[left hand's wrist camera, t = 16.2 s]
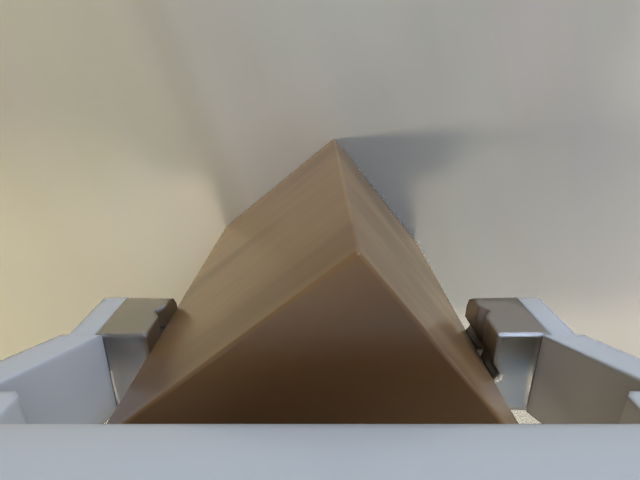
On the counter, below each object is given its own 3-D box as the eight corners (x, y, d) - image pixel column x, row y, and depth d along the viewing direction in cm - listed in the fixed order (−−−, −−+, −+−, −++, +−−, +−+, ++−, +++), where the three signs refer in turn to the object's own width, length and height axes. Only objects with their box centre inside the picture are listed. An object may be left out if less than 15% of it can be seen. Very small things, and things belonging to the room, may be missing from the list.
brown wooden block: (415, 241, 16) (546, 473, 7) (310, 317, 17) (298, 604, 8) (334, 138, 14) (358, 249, 5) (225, 227, 15) (92, 445, 6)
